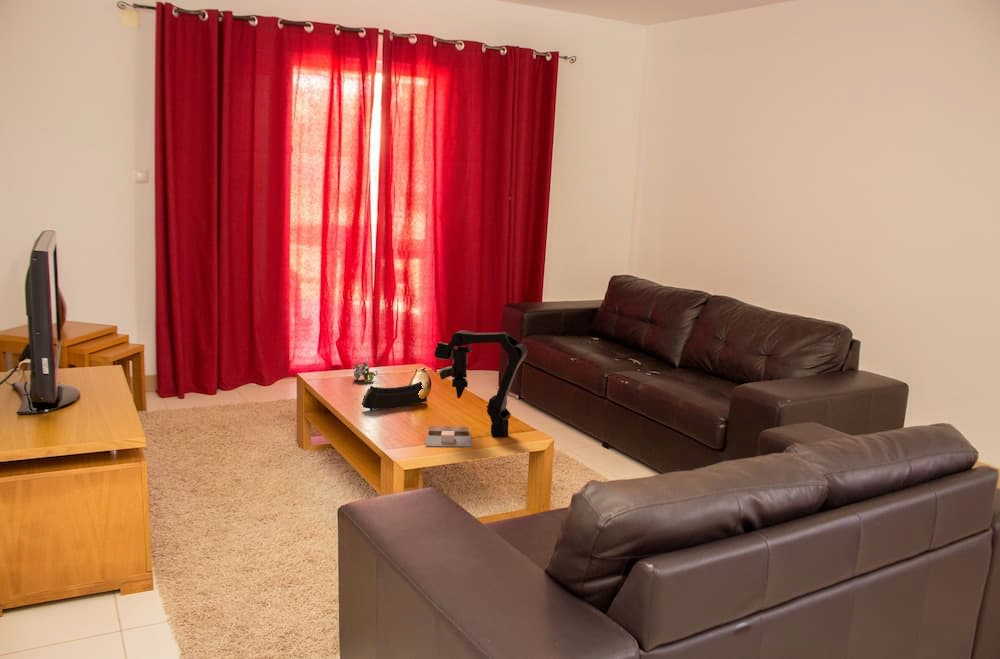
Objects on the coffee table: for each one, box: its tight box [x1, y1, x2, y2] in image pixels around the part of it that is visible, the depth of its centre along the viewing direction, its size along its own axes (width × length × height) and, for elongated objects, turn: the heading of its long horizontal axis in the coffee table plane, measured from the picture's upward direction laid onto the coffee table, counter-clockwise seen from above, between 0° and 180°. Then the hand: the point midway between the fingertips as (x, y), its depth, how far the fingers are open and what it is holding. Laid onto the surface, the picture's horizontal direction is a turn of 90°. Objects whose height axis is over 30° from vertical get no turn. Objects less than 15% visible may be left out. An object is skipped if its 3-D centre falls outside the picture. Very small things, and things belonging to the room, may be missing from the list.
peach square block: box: [441, 431, 455, 443], centre depth 324 cm, size 5×5×3 cm
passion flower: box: [352, 360, 378, 384], centre depth 405 cm, size 11×11×12 cm
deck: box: [428, 425, 469, 435], centre depth 333 cm, size 16×6×2 cm, turn 94°
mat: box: [425, 434, 473, 448], centre depth 324 cm, size 18×13×1 cm
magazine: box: [361, 381, 428, 411], centre depth 365 cm, size 17×3×30 cm
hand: (458, 398), depth 338 cm, fingers closed
